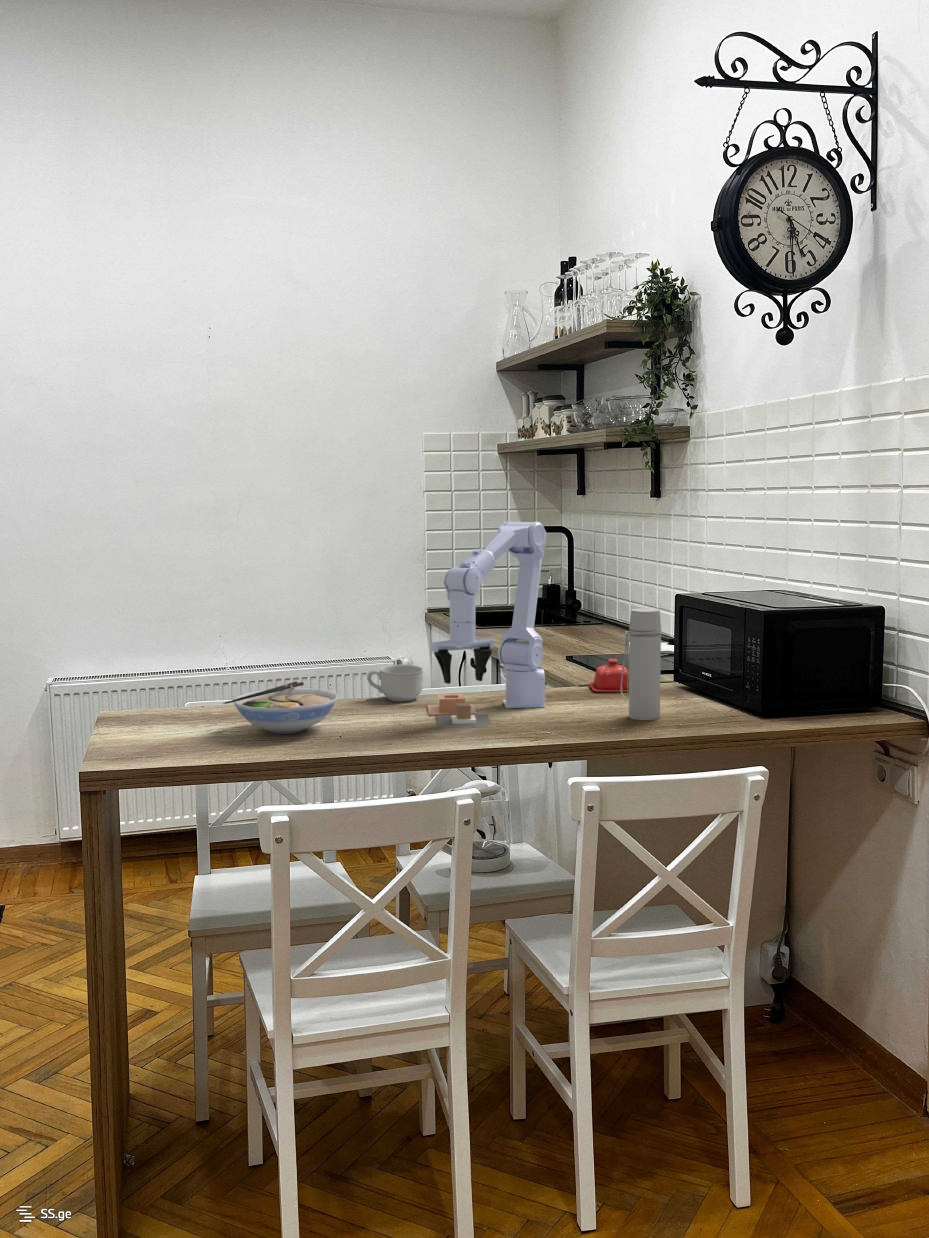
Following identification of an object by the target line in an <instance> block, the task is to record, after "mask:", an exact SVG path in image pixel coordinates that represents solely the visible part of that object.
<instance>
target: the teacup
mask: <svg viewBox="0 0 929 1238" xmlns="http://www.w3.org/2000/svg"><path fill="white" fill-rule="evenodd" d="M423 673H424V667H421V666H420V665H419V666H418V665H413V664H390V665H386V666H383V667H381V668H380V670H377V669H371V670H370V671H369V672H368V673H367V675H366V681H367V682H368V683H369V685H370V686H372V688H374V689H376V690H378V692H379V693H380V694H383V695H384V696H385V697H386V698H387V700H390V701H392V702H399V703H400V702H410V701H413V700H416V699H417V698H418V696H420V695H421V693H422V691H423V682H424V674H423ZM373 675H377V676H378V679H379V681H380V685H378V684H376V683H375V682H373V680H372V676H373Z"/></svg>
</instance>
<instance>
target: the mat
mask: <svg viewBox="0 0 929 1238" xmlns="http://www.w3.org/2000/svg"><path fill="white" fill-rule="evenodd" d="M451 716H452V715H447V716H435V719H436V723H437V728H438V729H450V728H451V729H453V728H455V729H456V728H459V729H460V728H480V727H481V728H482V727H486V726H491V725H493V724H492V721H491V719H490V717H489V715H488V714H476V715H474V716H475V718H476V723H473V724H453V723H452V719H451Z"/></svg>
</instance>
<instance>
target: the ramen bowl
mask: <svg viewBox="0 0 929 1238" xmlns="http://www.w3.org/2000/svg"><path fill="white" fill-rule="evenodd" d="M300 686H304V681H303V682H302V681H300V682H298V681H293V682H289V683H286V684H283V685H279V686H275V687H272V688H269V689H262V690H254V691H250V692H246V693H242V694H240V695H237V696H235V697H234V698H233V699H232V700H229V701H226V702H223V703H222V705H223V704H226V705H228V704H231V703H233V704H234V707H236V710H237V711H238V712H239V713H240V715H241V716H242V717H243V718H244V719H245V720H246V721H247V722H248V723H250V724H251V725H253V726H255V727H258V728H259V729H263V730H267V731H269V732H270V733H272V734H279V735H288V734H296V733H301V732H302V731H304V730H306V729H308V728H310V727H312V726H315V725H316V724H318V723H321V722H322V721H323V720H325V718H326V717H327V716H328V715H329V714H330V712H331V710H332V709H333V707H334V706H335V703H336V702H337V699H338V697H339V694H337V693H336V692H334V691H332V690H326V689H322V688H321V689H320V688H308V687H307V688H306V687H300Z"/></svg>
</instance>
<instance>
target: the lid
mask: <svg viewBox="0 0 929 1238" xmlns="http://www.w3.org/2000/svg"><path fill="white" fill-rule="evenodd" d="M470 704H471V703H470V702H465V703H456V707H457V715H450V716H451V719H452V723H453V724H473V723H476V718H475V716H474V715H471V705H470Z"/></svg>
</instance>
